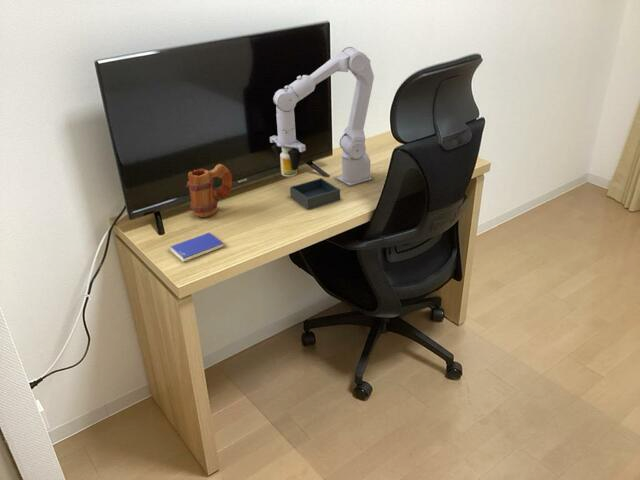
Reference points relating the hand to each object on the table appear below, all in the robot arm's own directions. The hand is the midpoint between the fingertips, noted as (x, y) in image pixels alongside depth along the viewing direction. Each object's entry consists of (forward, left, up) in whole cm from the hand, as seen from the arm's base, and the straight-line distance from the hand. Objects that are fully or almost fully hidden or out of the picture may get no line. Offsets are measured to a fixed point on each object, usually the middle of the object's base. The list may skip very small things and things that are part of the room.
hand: (288, 167), depth 192 cm
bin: (-3, +11, -8) cm, 14 cm away
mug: (+28, 0, -9) cm, 29 cm away
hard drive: (+41, +19, -9) cm, 46 cm away
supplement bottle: (0, 0, -3) cm, 3 cm away
